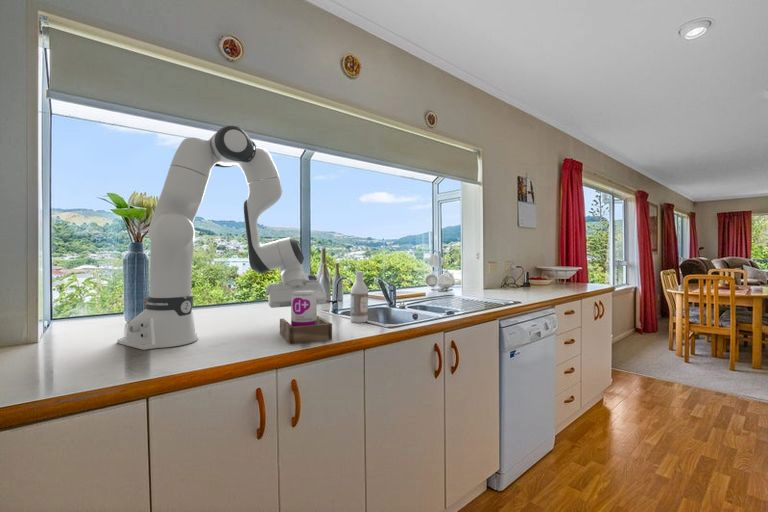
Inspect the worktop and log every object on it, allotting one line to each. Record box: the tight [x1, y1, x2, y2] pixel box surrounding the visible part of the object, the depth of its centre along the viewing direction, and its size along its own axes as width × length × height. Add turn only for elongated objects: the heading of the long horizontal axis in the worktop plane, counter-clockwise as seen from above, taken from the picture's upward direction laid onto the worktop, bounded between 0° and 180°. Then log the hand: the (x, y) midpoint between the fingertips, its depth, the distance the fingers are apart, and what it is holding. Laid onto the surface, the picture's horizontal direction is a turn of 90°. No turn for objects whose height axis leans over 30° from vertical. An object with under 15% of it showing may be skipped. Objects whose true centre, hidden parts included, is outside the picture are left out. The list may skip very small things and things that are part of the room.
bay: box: [279, 315, 333, 345], centre depth 121 cm, size 15×13×5 cm
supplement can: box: [290, 290, 318, 327], centre depth 122 cm, size 8×8×15 cm
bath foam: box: [349, 270, 369, 324], centre depth 147 cm, size 7×7×20 cm
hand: (301, 314), depth 126 cm, fingers closed, pressing on supplement can
